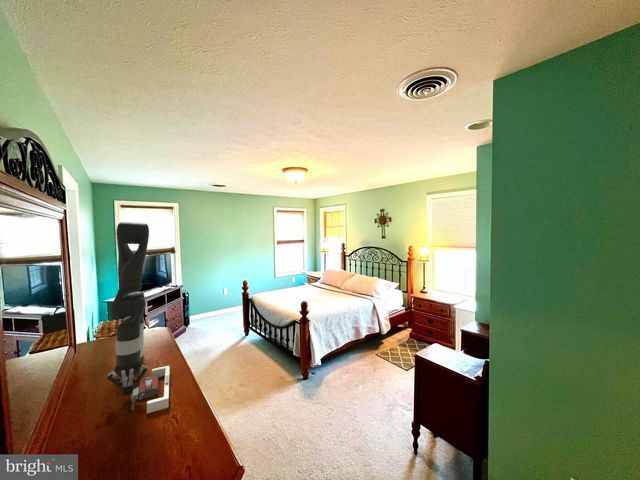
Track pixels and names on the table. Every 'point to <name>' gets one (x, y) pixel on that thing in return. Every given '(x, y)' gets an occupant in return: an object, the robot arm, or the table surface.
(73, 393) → the table surface
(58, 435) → the table surface
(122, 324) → the robot arm
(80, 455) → the table surface
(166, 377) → the white c-shaped bracket
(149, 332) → the table surface
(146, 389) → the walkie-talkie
